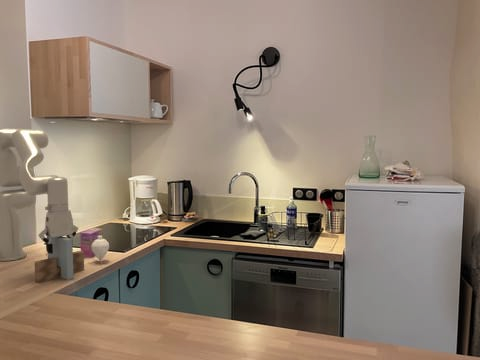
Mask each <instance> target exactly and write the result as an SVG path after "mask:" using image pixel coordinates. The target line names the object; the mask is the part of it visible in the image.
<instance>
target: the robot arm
mask: <svg viewBox="0 0 480 360" xmlns="http://www.w3.org/2000/svg"><path fill="white" fill-rule="evenodd" d="M48 145H49V137H48V135H47V133H46V132H45V130H43V129H37V128H36V129H35V128H17V127H16V128H14V127H13V128H12V127H11V128H10V127H8V128H7V127H6V128H5V127H4V128H0V187H2V188H12V187H21V188H15V189H14V188H13V189H6V190H5V189H4V190H0V262H10V261H11V262H12V261H19V260H21V259H24V258H25V257H27V256H28V255H27V252H25V251H23V250H24V249H23V231H22V219H21V217H20V214H18V213H17V212H16V211H18V210H25V209H31V208H33V207H34V206H35V205H36V204H37V203H36V202H37V196H39V195H47V205H46V206H45V207H44V210H45V211H47V212H46V214H45V215H46V216H45V221H44V222H45V224H44V229H43V230H42V231H41V232H40V233H39V234H38V237H39V239H41V241H43V242H44V244H45V247H46V248H45V249H46V253H47V254H48V253H50V254H52V253H53V244H51V242H52V240H53V238H57V237H66V238H70V239H72V246H73V244H74V243H73V242H74V241H73V240H74V238H75V236H76V235H77V232H79V231H78V230H79V226H76V225H74V219H73V214H72V211H71V210H70V209H69V189H68V188H69V187H68V179H67V178H66V177H63V176H58V175H55V174H53V175H52V174H50V175H36V174H35V172H34V170H33V168H34V167H36V166H38V165H40V164H42V162H43V161H44V158H45V156H44V153H43V151H42V150H41V149H46V148H47V146H48ZM12 148H15V150H16V151H17V154H18V156H19V158H20V159H21V161H22V162H21V164H20V165H18V162H17V155H16V153H15V152H14V151H13V150H12Z"/></svg>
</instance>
